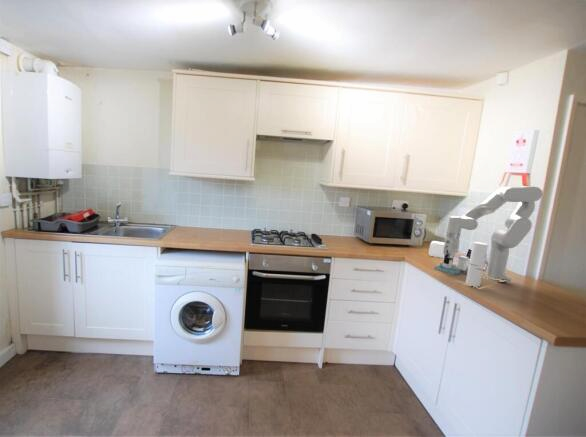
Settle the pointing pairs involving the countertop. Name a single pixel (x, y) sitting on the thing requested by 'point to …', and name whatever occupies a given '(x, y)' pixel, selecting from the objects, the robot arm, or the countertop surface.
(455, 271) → the parts tray
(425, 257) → the countertop surface
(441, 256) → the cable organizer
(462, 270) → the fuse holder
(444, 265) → the fuse
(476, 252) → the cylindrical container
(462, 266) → the fuse
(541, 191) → the robot arm
